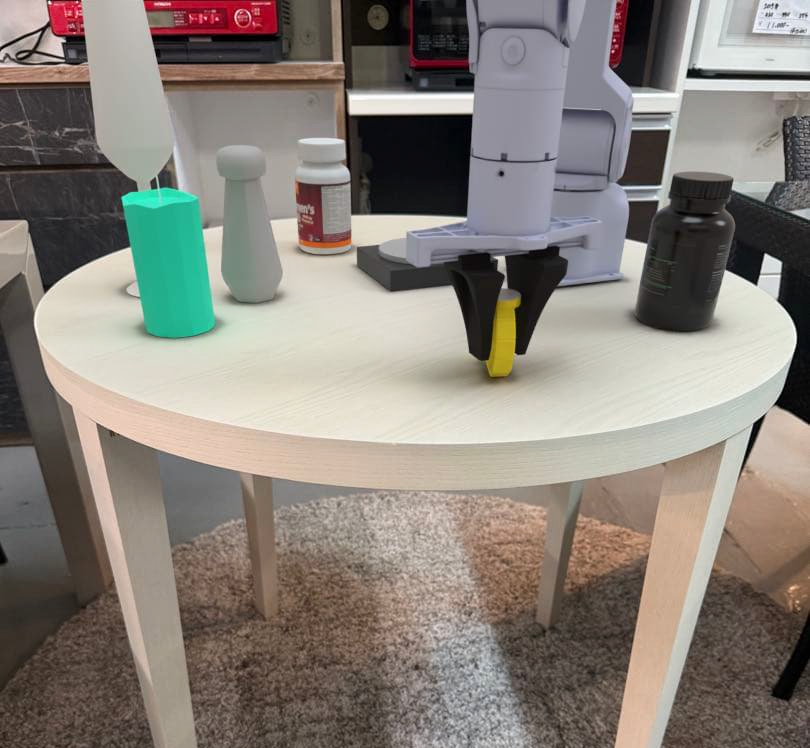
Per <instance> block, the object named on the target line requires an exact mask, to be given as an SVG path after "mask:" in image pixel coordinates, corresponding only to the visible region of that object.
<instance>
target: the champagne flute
mask: <svg viewBox="0 0 810 748" xmlns="http://www.w3.org/2000/svg"><path fill="white" fill-rule="evenodd" d="M80 1H81V11H82V20H83V28H84V30H83V31H84V37H85V38H84V39H85V46H86V47H85V48H86V57H87V64H88V75H89V82H90V83H89V85H90V92H91V102H92V103H91V104H92V111H93V120H94V128H95V137H96V144H97V146H98V148H99V149H100V151H101V152H102V154H103V155H104V156H105V158H106V159H107V160H108V161H109V163H111V164H112V165H113V166H114V167H115V168H117V169H118V170H119V171H121V172H122V174H123V175H125V176H126V177H127V178H129V179H130V180H133V181H134V182H136V187H137V192H139V191H148V190H152V186H151V181H152V180H153V179H156V176H159V174H160V172H162V169H164V167H165V166H166V164H167V163H168V162H169V160H170V158H171V156H172V155H173V151H174V148H175V146H176V138H175V134H174V130H173V125H172V122H171V121H172V120H171V116H170V113H169V108H168V107H169V106H168V103H167V99H166V94H165V91H164V85H163V82H162V78H161V77H162V76H161V73H160V68H159V64H158V60H157V59H158V58H157V56H156V51H155V47H154V42H153V38H152V33H151V29H150V24H149V19H148V16H147V12H146V6H145V2H144V0H80ZM125 291H126V293H127V294H129V295H130V296H133V297H138V298H140V294H139V289H138V283H137V280H134V282H133V283H131V284H130V285H129V286H127V288H126V290H125Z"/></svg>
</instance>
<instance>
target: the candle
mask: <svg viewBox="0 0 810 748" xmlns="http://www.w3.org/2000/svg"><path fill="white" fill-rule="evenodd" d="M155 180H156V185H157V186H156V187H157V188H155V189H151V190H148V191H139V192H138V191H130V192H128V193H127V194H125V195H123V196H121V202H122V209H123V213H124V219H125V223H126V230H127V234H128V235H127V236H128V238H129V239H128V240H129V246H130V250H131V257H132V260H133V262H132V263H133V267H134V272H135V277H136V281H137V283H138V289H139V294H140V297H139V298H140V299H139V300H140V304H141V311H142V314H143V315H142V316H143V320H144V327H145V330H146V333H147V334H150V335H153V336H155V337H159V338H160V337H161V338H173V339H176V338H185V337H194V336H197V335H200V334H204V333H208V332H210V331H211V330H212V329H213V328H214V327H215V326H216V320H215V313H214V305H213V297H212V290H211V282H210V275H209V268H208V259H207V253H206V252H207V251H206V246H205V245H206V244H205V237H204V229H203V222H202V216H201V215H202V214H201V207H200V199H199V198H198V196H197V195H193V194H192V193H188V192H186V191H183V190H178V189H174V188H170V187H161V188H160V181H159V175H157V176H156V177H155Z"/></svg>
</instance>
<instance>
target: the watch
mask: <svg viewBox="0 0 810 748" xmlns="http://www.w3.org/2000/svg"><path fill="white" fill-rule="evenodd" d="M520 303H521V294H520V293H519V292H517V291H515V290H512V289H507V288H506V287H505V288H503V287H501V290H500V294H499V297H498V301H497V306H496V310H495V316H494V322H493V336H492V348H491V353H490V357H489V360H486V361H483V362H485V365H486V368H487V372H488V374H489V377H490V378H501V377H502V378H503V377H504V378H506V377H508V376H509V375H510V374H511V372H512V370H513V364H514V361H515V342H516V341H515V339H516V321H515V311H514V308H516V307H518V306H519V305H520Z"/></svg>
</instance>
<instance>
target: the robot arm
mask: <svg viewBox="0 0 810 748" xmlns="http://www.w3.org/2000/svg"><path fill="white" fill-rule="evenodd" d="M465 1H466V3H465V4H466V19H467V20H466V21H467V28H468V40H469V41H468V42H469V43H468V45H469V46H468V47H469V48H468V64H469V68H468V69H469V73H471V74H473V75H474V83H473V84H474V87H473V105H472V123H471V126H472V127H471V140H470V141H471V142H470V156H469V176H468V193H467V209H466V210H467V211H466V212H467V213H466V220H463V221H459V222H454V223H449V224H444V225H440V226H435V227H430V228H424V229H418V230H417V229H416V230H408V231H406V234H405V235H406V237H405V238H406V260H407V261H408V262H409V263H411V264H412V265H414V266H416V267H428V266H430V265H431V263H438V262H443V264H444V268H445V270H446V272H447V274H448V276H449V279H450V281H451V283H452V284H451V286H452V287H453V291H454V293H455V296H456V299H457V301H458V305H459V308H460V311H461V314H462V319H463V323H464V328H465V333H466V340H467V347H468V353H469V354H470V355H471V356H473V357H474V358H475V359H477V360H478V361H479V362H484V361H486V360H489V357H490V353H491V348H492V336H493V322H494V316H495V310H496V306H497V301H498V297H499V294H500V290H501V288H503V284H504V281H505V279H506V287H507V288H506V289H512V290H515V291H517V292H519V293H520V294H521V303H520V305H519V306H518V307H516V308H514V311H515V321H516V339H515V341H516V342H515V353H514V355H517V356H525V355H527V354H526V353H527V351H528V348H529V345H530V342H531V341H532V337H533V334H534V331H535V329H536V326H537V324H538V322H539V320H540V317H541V315H542V313H543V311H544V309H545V307H546V305H547V304H548V302H549V300H550V298H551V296H552V295H553V293H554V292H555V290H556V289H557V287H565V286H573V285H582V284H589V283H597V282H598V283H599V282H606V281H615V280H622V279H624V276H625V274H624V273H622V272H621V271H620V270H621V264H622V260H623V252H624V248H625V247H624V246H625V242H626V241H625V240H626V235H627V229H628V223H629V216H630V205H629V199H628V198H629V197H628V195H627V192H626V191H625V190H624V188H623V187H622V186H621V185H619V183H617V182H618V181H619V180H620V179H622V177H623V175H624V172H625V169H626V164H627V160H628V156H629V149H630V143H631V138H632V137H631V136H632V130H633V111H634V110H633V109H634V103H635V98H634V97H633V91H632V89H631V88H630V86H629V85H628V84H627V83H626V82H625V81H623V80H622V78H620V77H619V76H618V74H616V73H615V72H614V71H613V70H612V69H611V67H610V64H609V63H610V57H611V49H612V41H613V33H614V24H615V17H616V9H617V2H618V0H465ZM491 257H494V258H495V257H496V258H497V257H498V258H499V257H504V261H505V262H504V263H505V272H506V276H505V274H504V273H503V272H501V271H499V270H498V269H497V270H496V269H494V262H492V263H491V262H490V259H491Z"/></svg>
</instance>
